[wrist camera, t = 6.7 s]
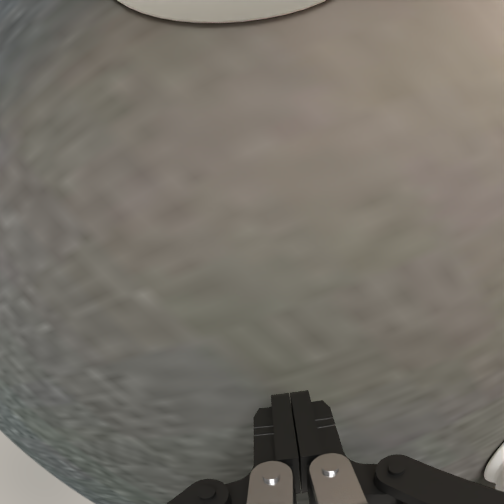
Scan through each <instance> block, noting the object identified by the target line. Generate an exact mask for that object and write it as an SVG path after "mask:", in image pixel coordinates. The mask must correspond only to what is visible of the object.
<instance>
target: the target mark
mask: <svg viewBox="0 0 504 504" xmlns="http://www.w3.org/2000/svg"><path fill="white" fill-rule="evenodd" d="M117 1H119V2H120V3H122V4H123V5H125V6H127V7H128V8H131V9H133V10H135V11H138V12H140V13H143V14H146V15H150V16H153V17H157V18H161V19H167V20H173V21H180V22H192V23H232V22H246V21H253V20H261V19H267V18H272V17H277V16H282V15H287V14H290V13H294V12H297V11H301V10H305V9H307V8H310V7H312V6H315V5H317V4H320V3H322V2H324V1H326V0H117Z"/></svg>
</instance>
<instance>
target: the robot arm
mask: <svg viewBox="0 0 504 504" xmlns="http://www.w3.org/2000/svg"><path fill="white" fill-rule="evenodd" d="M290 398H291V404H290ZM271 402H272V407H269V408H259V409H258V411H257V413H256V415H255V416H254V466H253V469H252V471H251V472H250V473H249V475H247V476H246V477H245V478H243V479H241V480H239V481H236V482H232V483H229V484H223V483H222V482H220V481H218V480H214V479H204V480H200V481H197V482H195V483H194V484H192V485H191V486H190V487H188V488H187V489H186V490H184V491H183V492H182V493H180V494H179V495H178V496H176V497H175V498H174V499H172V500H171V501H170V502H168V503H167V504H296V494H297V493H300V482H301V489H302V493H304V492H308V495H309V504H504V492H503V491H499V490H496V489H493V488H490V487H487V486H483V485H480V484H477V483H474V482H471V481H469V480H466V479H463V478H460V477H457V476H455V475H452V474H449V473H447V472H444V471H441V470H439V469H436V468H434V467H431V466H429V465H426V464H424V463H421V462H419V461H417V460H414V459H412V458H409V457H407V456H404V455H391V456H388V457H385V458H384V459H382V460H381V461H380V462H379V463H378V464H359V463H356V462H353V461H351V460H350V459H348V458H347V457H346V456H345V454H344V452H343V449H342V445H341V442H340V439H339V435H338V432H337V429H336V426H335V422H334V419H333V416H332V412H331V409H330V407H329V406H328V405H327V404H326V403H325V402H324V401H323V400H322V401H315V402H311V400H310V396H309V392H308V390H307V391H300V392H292V393H290V397H289V393H285V394H276V395H271ZM299 475H300V477H299Z"/></svg>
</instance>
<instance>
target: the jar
mask: <svg viewBox="0 0 504 504" xmlns="http://www.w3.org/2000/svg"><path fill="white" fill-rule="evenodd" d="M484 477H485V479H486V480H487V481H489V482H493V483H495V484H496V486H495V489H496V490H499V491H503V492H504V443H503V444H502V445H501V446H500V447H499V448H498V450H497V451H496V452H495V453H494V455H493V456H492V458H491V459H490V461H489V462H488V464H487V466H486V468H485V471H484Z"/></svg>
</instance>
